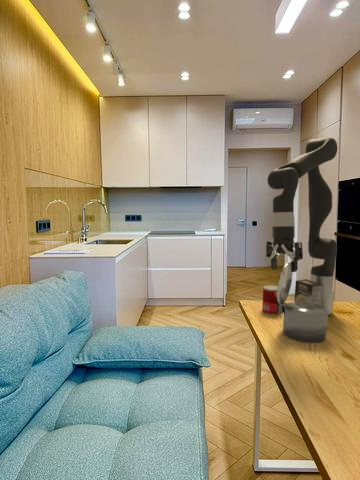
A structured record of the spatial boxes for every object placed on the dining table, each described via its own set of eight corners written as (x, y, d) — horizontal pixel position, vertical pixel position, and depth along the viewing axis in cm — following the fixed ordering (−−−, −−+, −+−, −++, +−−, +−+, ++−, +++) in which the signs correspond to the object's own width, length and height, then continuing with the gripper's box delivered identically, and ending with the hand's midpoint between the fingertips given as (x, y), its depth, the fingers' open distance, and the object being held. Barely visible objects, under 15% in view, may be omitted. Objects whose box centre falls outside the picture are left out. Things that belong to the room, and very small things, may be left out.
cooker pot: (273, 335, 120) (274, 309, 119) (284, 323, 132) (285, 299, 131) (322, 346, 111) (324, 318, 110) (329, 332, 123) (330, 306, 122)
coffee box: (292, 316, 140) (294, 280, 138) (303, 314, 143) (305, 278, 141) (309, 324, 132) (311, 285, 130) (320, 321, 135) (323, 283, 133)
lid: (277, 309, 118) (269, 307, 119) (289, 298, 131) (282, 296, 132) (283, 266, 115) (275, 264, 116) (294, 259, 128) (287, 258, 130)
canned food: (281, 315, 142) (282, 290, 141) (262, 313, 143) (263, 289, 142) (279, 309, 149) (280, 286, 148) (261, 308, 151) (262, 284, 150)
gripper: (307, 224, 112) (307, 271, 113) (274, 225, 124) (275, 267, 125) (293, 225, 108) (293, 273, 109) (260, 225, 120) (261, 269, 121)
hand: (283, 270), depth 117 cm, fingers open, 8 cm apart
